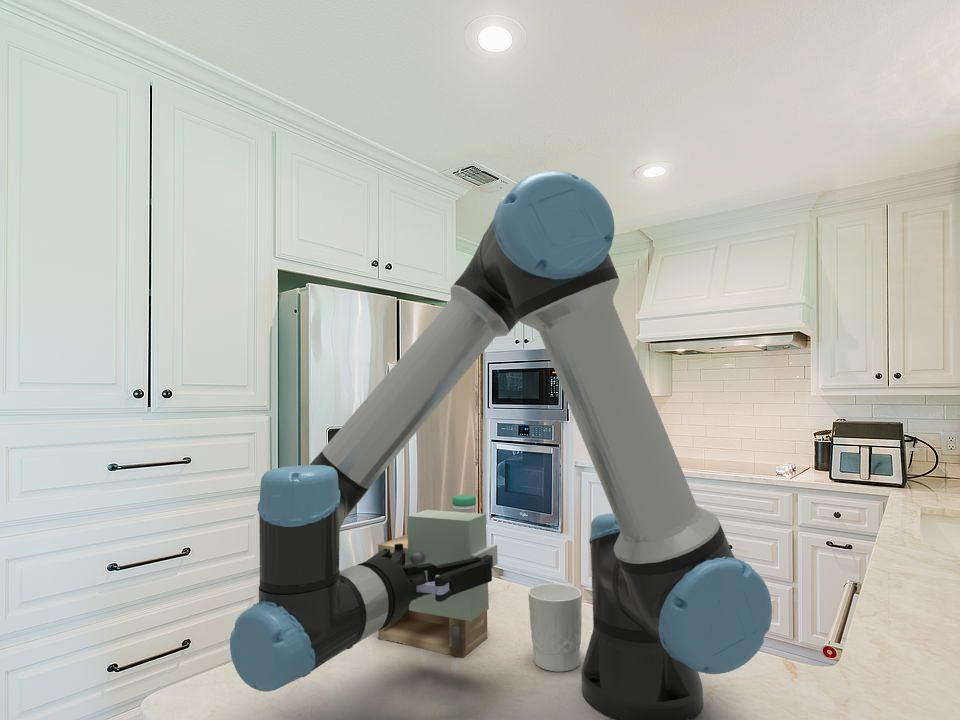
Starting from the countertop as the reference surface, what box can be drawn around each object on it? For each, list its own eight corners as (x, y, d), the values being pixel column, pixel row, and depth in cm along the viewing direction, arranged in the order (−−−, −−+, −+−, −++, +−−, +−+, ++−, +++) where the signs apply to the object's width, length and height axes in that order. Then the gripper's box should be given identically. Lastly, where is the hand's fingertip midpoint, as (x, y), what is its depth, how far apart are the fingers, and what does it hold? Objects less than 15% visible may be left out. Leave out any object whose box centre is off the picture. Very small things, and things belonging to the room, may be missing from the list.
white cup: (563, 680, 77) (561, 604, 77) (519, 662, 82) (517, 592, 83) (594, 660, 82) (591, 590, 83) (550, 645, 88) (548, 580, 88)
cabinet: (487, 637, 91) (486, 543, 92) (460, 659, 83) (459, 556, 84) (406, 621, 98) (406, 534, 99) (375, 640, 90) (375, 545, 92)
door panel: (488, 608, 78) (485, 514, 79) (467, 624, 72) (464, 522, 74) (428, 599, 83) (426, 509, 84) (404, 613, 77) (402, 517, 78)
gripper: (292, 618, 68) (400, 568, 87) (452, 650, 57) (534, 585, 77) (291, 554, 68) (399, 519, 88) (450, 575, 58) (532, 530, 77)
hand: (462, 550), depth 82 cm, fingers closed on door panel, 10 cm apart
